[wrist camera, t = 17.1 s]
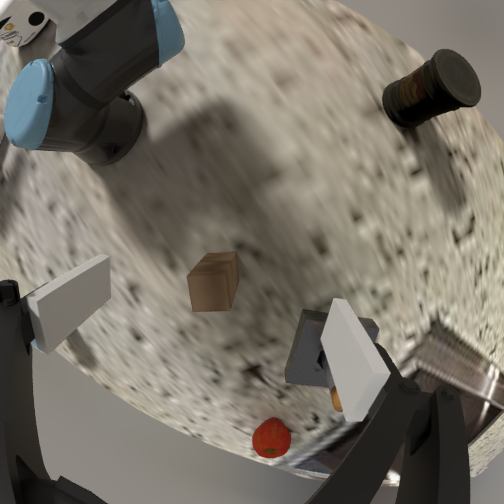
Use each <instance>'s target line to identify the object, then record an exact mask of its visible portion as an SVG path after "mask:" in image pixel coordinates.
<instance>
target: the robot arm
mask: <svg viewBox="0 0 504 504" xmlns="http://www.w3.org/2000/svg"><path fill="white" fill-rule="evenodd" d="M29 1H30V2H31V3H32V4H33V5H34V6H36V7H37V8H38V9H39V10H40V11H41V12H43V13H44V14H45V15H46V16H47V17H48V18H50V19H51V20H52V21H53V22H54V23H55V24H56V26H57V30H56V39H55V42H56V43H57V44H58V45H59V46H61V47H62V48H61V49H60V50H59V51H58V52H57V53H56V54H55V55H54V56H53V57H52V58H51V59H50V60H49V61H48V60H47V59H36V60H35V61H31V62H30V63H28V64H27V65H26V66H25V67H24V68H23V69H22V71H21V72H20V73H19V75H18V76H17V78H16V79H15V81H14V83H13V85H12V87H11V90H10V92H9V95H8V98H7V102H6V107H5V113H4V127H5V133H6V136H7V138H8V140H9V141H10V143H11V144H13V145H14V146H16V147H20V148H27V149H28V150H44V151H61V152H72V153H74V154H75V155H76V156H78V157H79V158H80V159H82V160H83V161H85V162H87V163H89V164H94V165H108V164H111V163H114V162H116V161H118V160H119V159H121V158H122V157H123V156H125V155H126V154H127V153H128V152H129V150H130V149H131V148H132V147H133V145H134V143H135V142H136V140H137V138H138V136H139V133H140V130H141V126H142V119H143V114H142V107H141V104H140V102H139V100H138V98H137V97H136V96H135V95H134V94H133V93H132V92H130V91H128V90H127V89H128V88H129V87H131V86H132V85H133V84H135V83H136V82H137V81H139V80H140V79H142V78H143V77H144V76H146V75H147V74H149V73H150V72H152V71H153V70H155V69H156V68H160V67H161V66H162V65H163V63H165V62H166V61H168V60H169V59H171V58H172V57H174V56H175V55H177V54H178V53H179V52H181V50H182V49H183V47H184V45H185V38H184V33H183V30H182V28H181V25H180V22H179V20H178V18H177V15H176V13H175V11H174V9H173V7H172V5H171V3H170V2H169V1H168V0H29ZM110 298H111V284H110V256H107V255H103V254H99V255H97V256H95V257H94V258H92V259H90V260H88V261H86V262H84V263H82V264H81V265H79V266H77V267H75V268H73V269H72V270H70V271H68V272H66V273H65V274H63V275H61V276H59V277H58V278H56V279H54V280H52V281H51V282H48V283H46V284H44V285H42V286H41V287H39V288H37V289H36V290H34V291H32V292H31V293H29V294H27V295H26V296H24V297H23V298H21V299H20V293H19V287H18V282H17V281H15V280H3V281H0V504H108V503H106V502H105V501H103V500H102V499H100V498H99V497H98V496H96V495H95V494H93V493H92V492H91V491H89V490H87V489H85V488H83V487H81V486H79V485H77V484H75V483H73V482H71V481H70V480H68V479H66V478H64V477H62V476H60V477H59V479H58V481H55V480H51V479H50V477H49V475H48V473H47V471H46V469H45V466H44V463H43V459H42V455H41V449H40V444H39V438H38V432H37V426H36V418H35V409H34V397H33V379H32V346H31V342H32V341H33V340H34V339H35V340H36V344H37V348H38V349H39V350H41V351H42V352H44V353H47V354H50V353H51V352H52V351H53V350H54V349H55V348H56V347H57V346H58V345H59V344H61V343H62V342H63V341H64V340H65V339H66V338H67V337H68V336H69V335H70V334H71V333H72V332H73V331H74V330H75V329H77V328H78V327H79V326H80V325H81V324H82V323H83V322H84V321H85V320H86V319H88V318H89V317H90V316H91V315H92V314H93V313H94V312H95V311H96V310H98V309H99V308H100V307H101V306H102V305H103V304H104V303H106V302H107V301H108V300H109V299H110ZM321 342H322V345H323V348H324V351H325V354H326V357H327V361H328V364H329V367H330V370H331V373H332V376H333V380H334V383H335V386H336V389H337V393H338V396H339V399H340V402H341V406H342V409H343V413H344V416H345V419H346V422H353V421H363V419H364V418H365V416H366V414H367V413H368V412H369V415H370V417H371V419H370V421H369V422H368V423H367V425H366V426H365V428H364V429H363V431H362V432H361V433H360V436H359V437H358V439H357V440H356V441H355V443H354V444H353V446H352V447H351V449H350V450H349V451H348V453H347V454H346V455H345V457H344V458H343V459H342V461H341V462H340V463H339V465H338V466H337V467H336V468H335V470H334V471H333V472H332V473H331V475H330V476H329V477H328V478H327V479H326V481H325V482H324V483H323V484H322V485H321V486H320V488H319V489H318V490H317V491H316V492H315V493H314V495H312V496H311V498H310V499H309V500H308V501H307V502H306V503H305V504H370V502H371V501H372V499H373V497H374V496H375V494H376V492H377V490H378V489H379V487H380V486H381V484H382V482H383V480H384V478H385V477H386V475H387V473H388V471H389V469H390V467H391V465H392V463H393V461H394V459H395V457H396V455H397V453H398V451H399V448H400V446H401V444H402V442H403V439H404V437H405V435H406V441H405V450H404V458H403V465H402V472H401V478H400V483H399V488H398V493H397V498H396V503H395V504H470V467H469V454H468V444H467V436H466V429H465V422H464V416H463V411H462V405H461V400H460V396H459V394H458V392H457V391H456V390H455V389H454V388H453V387H451V386H447V385H439V386H438V387H437V388H436V389H435V391H434V393H428V392H422V391H421V389H420V387H419V385H418V384H417V383H416V382H415V381H413V380H411V379H408V378H404V377H402V376H401V374H400V372H399V371H398V369H397V367H396V366H395V364H394V363H393V362H392V359H391V358H390V357H389V355H388V353H387V351H386V350H385V349H384V348H383V347H382V346H381V345H379V344H378V343H373V342H372V341H371V339H370V337H369V336H368V334H367V332H366V331H365V329H364V328H363V326H362V324H361V323H360V321H359V319H358V318H357V316H356V315H355V313H354V312H353V310H352V308H351V307H350V305H349V304H348V302H347V301H346V300H345V299H338V298H333V302H332V305H331V308H330V311H329V314H328V318H327V321H326V324H325V327H324V330H323V333H322V336H321Z"/></svg>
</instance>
